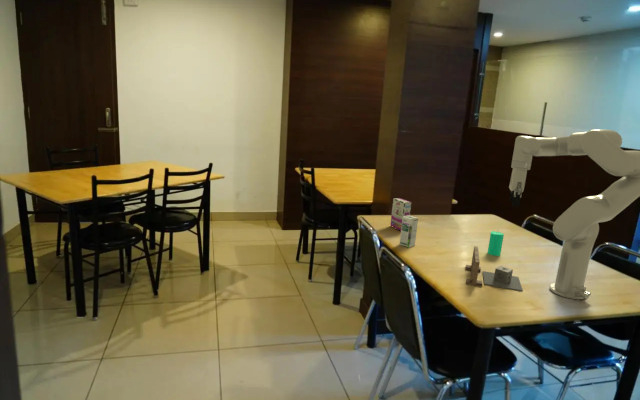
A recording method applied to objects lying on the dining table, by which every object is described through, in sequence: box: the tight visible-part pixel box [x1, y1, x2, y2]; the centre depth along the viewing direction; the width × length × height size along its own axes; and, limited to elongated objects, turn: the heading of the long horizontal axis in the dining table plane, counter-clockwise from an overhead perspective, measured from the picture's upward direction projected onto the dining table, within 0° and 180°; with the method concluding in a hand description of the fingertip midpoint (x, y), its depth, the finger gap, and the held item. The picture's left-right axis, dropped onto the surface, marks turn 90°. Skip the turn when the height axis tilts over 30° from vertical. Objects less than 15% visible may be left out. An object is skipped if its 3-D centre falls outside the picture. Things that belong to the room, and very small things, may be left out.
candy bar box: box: [390, 197, 412, 232], centre depth 236 cm, size 11×5×16 cm, turn 25°
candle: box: [487, 230, 505, 257], centre depth 205 cm, size 6×6×12 cm
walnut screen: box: [465, 245, 483, 287], centre depth 175 cm, size 20×6×10 cm, turn 162°
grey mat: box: [482, 270, 524, 292], centre depth 173 cm, size 14×14×1 cm
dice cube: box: [494, 265, 514, 284], centre depth 172 cm, size 5×5×5 cm
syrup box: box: [399, 215, 419, 248], centre depth 209 cm, size 6×6×14 cm
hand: (514, 203), depth 186 cm, fingers open, 9 cm apart
